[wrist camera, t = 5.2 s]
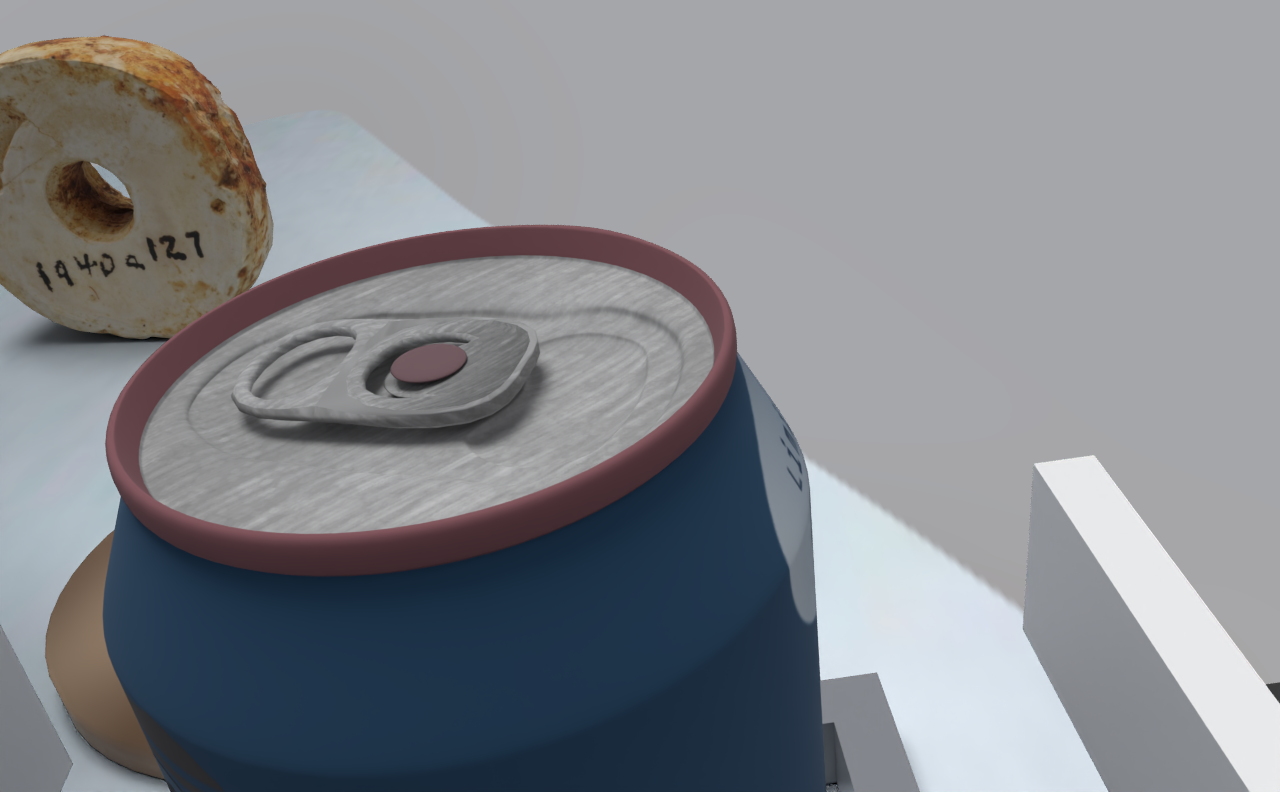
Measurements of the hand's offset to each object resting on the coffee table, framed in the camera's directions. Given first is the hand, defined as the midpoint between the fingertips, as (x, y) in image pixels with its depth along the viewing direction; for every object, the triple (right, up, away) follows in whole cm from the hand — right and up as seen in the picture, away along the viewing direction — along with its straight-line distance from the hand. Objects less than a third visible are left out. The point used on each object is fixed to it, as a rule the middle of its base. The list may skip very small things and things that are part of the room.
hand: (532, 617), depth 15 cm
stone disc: (-15, +5, +26) cm, 31 cm away
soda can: (+1, -7, +2) cm, 7 cm away
